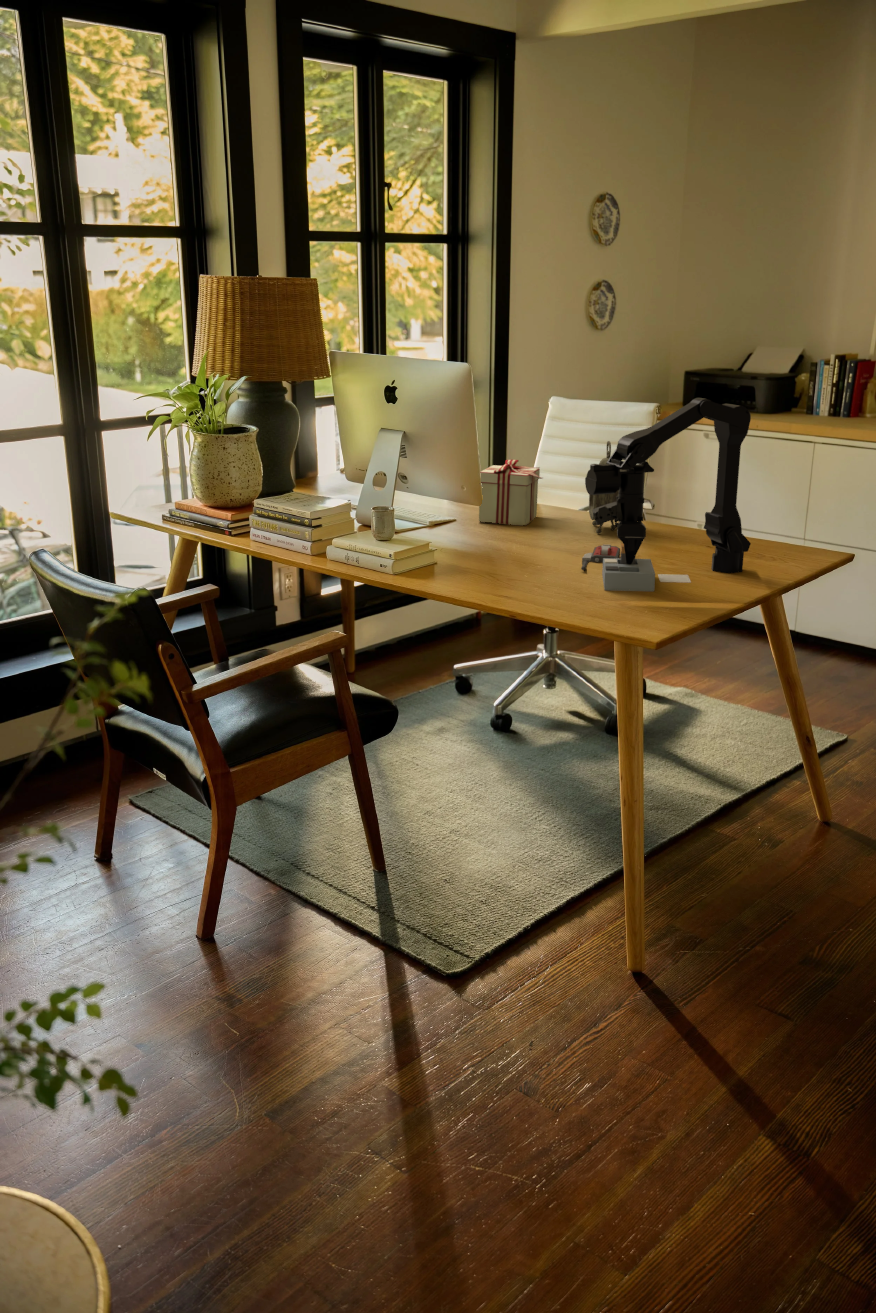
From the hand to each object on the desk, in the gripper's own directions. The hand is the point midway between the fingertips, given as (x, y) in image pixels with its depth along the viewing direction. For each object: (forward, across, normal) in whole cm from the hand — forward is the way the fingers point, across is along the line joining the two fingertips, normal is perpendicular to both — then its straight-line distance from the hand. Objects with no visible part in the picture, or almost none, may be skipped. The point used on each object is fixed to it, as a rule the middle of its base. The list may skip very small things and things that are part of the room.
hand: (627, 559), depth 250 cm
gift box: (+6, -72, -30) cm, 78 cm away
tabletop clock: (+6, -58, -3) cm, 59 cm away
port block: (+6, +4, 0) cm, 7 cm away
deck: (+6, -2, +11) cm, 12 cm away
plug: (+5, 0, 0) cm, 5 cm away
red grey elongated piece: (+6, -18, -6) cm, 20 cm away
